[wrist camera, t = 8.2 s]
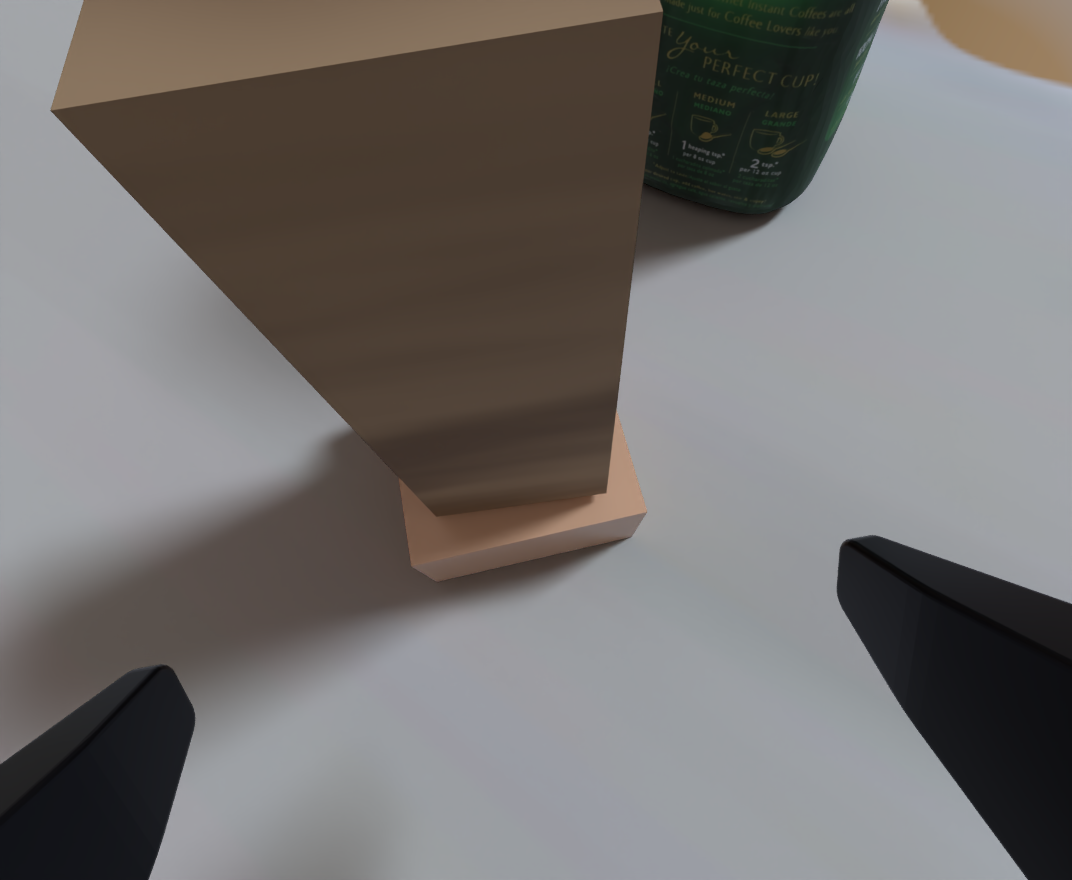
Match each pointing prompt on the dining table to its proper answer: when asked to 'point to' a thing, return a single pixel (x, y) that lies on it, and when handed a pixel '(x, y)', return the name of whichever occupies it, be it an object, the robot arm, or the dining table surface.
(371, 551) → the dining table surface
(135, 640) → the dining table surface
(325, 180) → the walnut block
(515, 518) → the terracotta block
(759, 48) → the coffee jar
